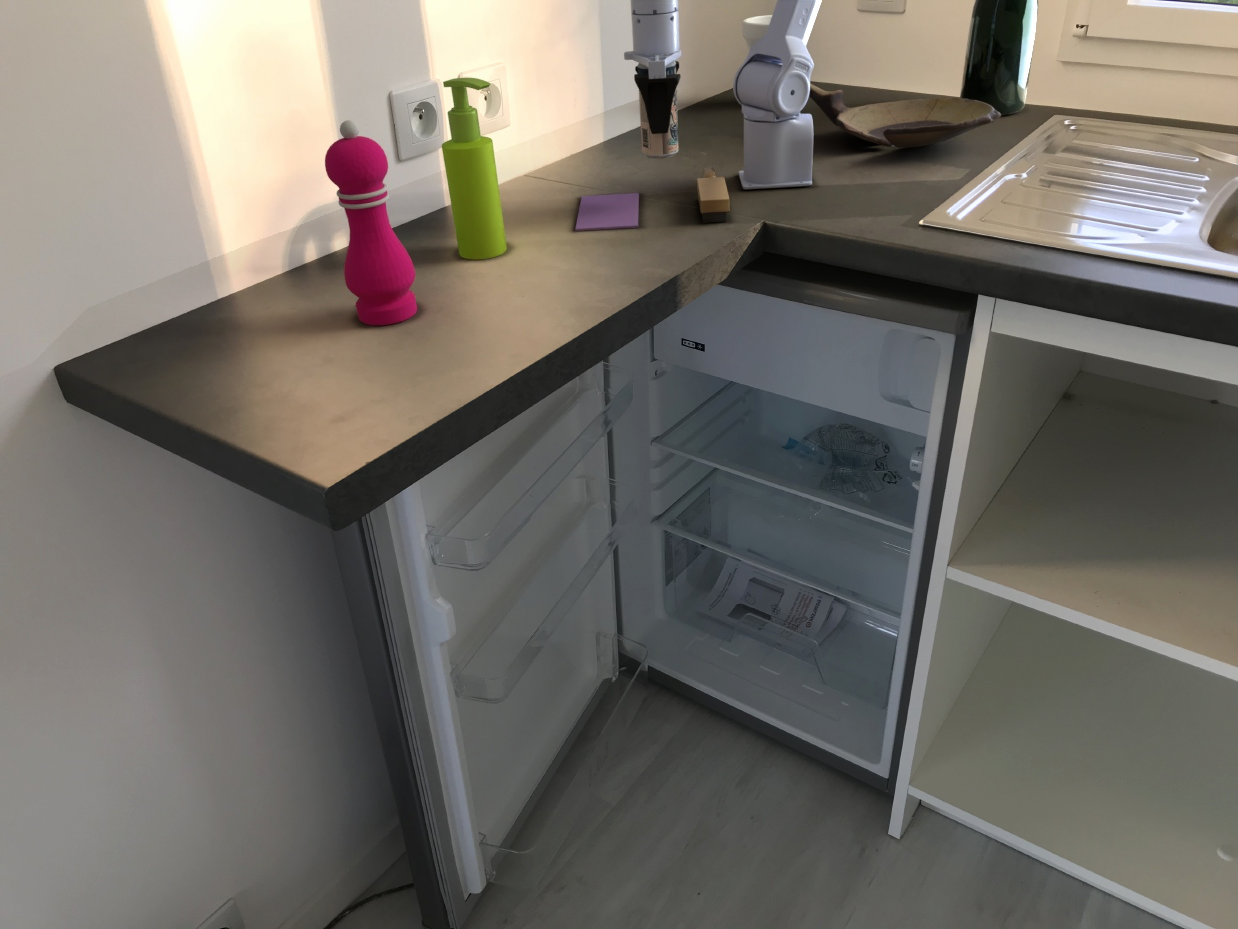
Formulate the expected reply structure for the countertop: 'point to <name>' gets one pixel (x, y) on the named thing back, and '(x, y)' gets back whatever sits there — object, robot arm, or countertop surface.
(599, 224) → the cloth
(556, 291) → the countertop surface
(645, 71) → the beer can
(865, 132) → the brown handled bowl
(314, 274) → the countertop surface
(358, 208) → the pepper mill
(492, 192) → the soap dispenser
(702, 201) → the hand brush
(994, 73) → the beer bottle
